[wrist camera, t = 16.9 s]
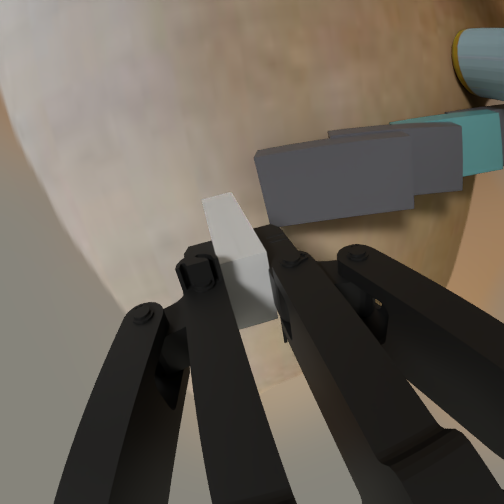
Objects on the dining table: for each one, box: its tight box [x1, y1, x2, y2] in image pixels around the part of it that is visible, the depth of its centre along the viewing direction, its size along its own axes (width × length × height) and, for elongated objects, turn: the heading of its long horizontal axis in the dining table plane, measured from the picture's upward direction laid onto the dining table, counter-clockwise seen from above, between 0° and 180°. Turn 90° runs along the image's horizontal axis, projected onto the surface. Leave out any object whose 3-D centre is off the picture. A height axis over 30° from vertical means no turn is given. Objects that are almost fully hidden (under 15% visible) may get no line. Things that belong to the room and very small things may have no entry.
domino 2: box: [328, 122, 463, 195], centre depth 20 cm, size 2×5×10 cm
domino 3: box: [389, 109, 503, 176], centre depth 21 cm, size 2×5×10 cm
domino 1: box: [254, 130, 414, 227], centre depth 20 cm, size 2×5×10 cm
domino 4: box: [445, 104, 504, 161], centre depth 21 cm, size 2×5×10 cm
